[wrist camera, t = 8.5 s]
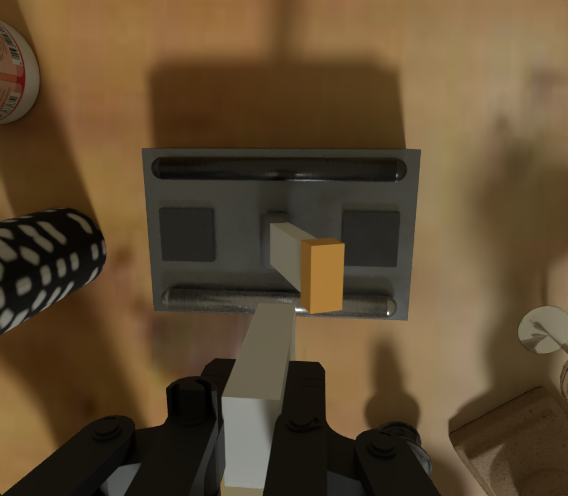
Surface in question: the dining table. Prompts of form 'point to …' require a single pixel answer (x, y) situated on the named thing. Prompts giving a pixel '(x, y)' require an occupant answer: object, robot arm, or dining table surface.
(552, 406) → the candle holder
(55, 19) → the dining table surface
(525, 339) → the wineglass
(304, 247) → the breaker lever
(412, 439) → the salt shaker
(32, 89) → the fruit juice
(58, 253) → the spotted tube
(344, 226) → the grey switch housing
